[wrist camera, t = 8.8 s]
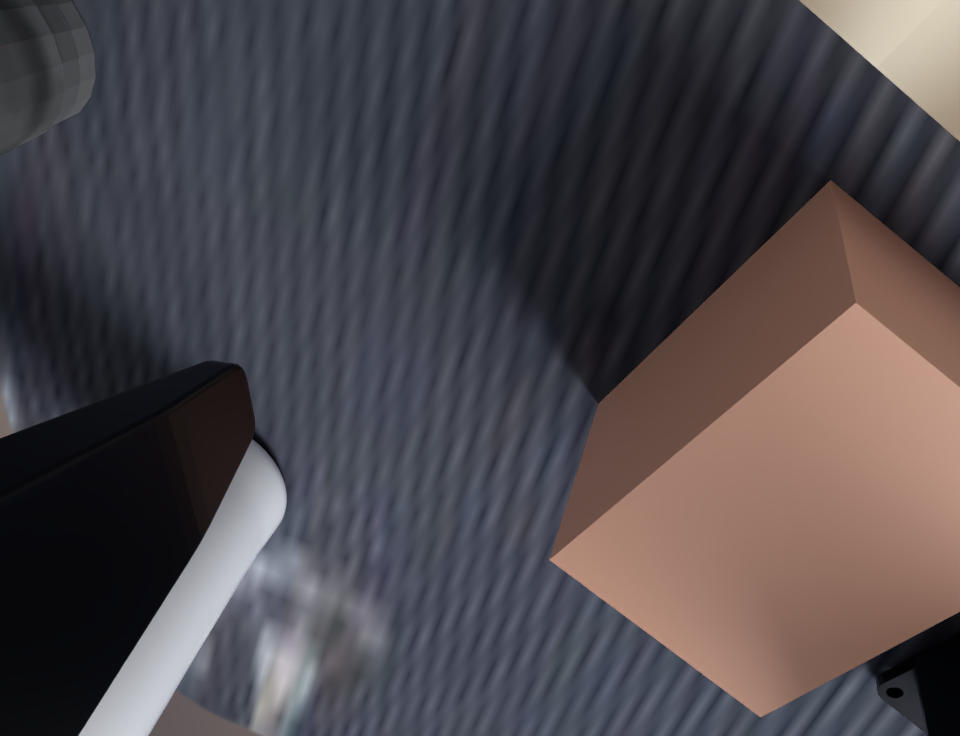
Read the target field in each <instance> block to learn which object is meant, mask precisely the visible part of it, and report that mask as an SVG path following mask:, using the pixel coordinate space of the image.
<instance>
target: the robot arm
mask: <svg viewBox="0 0 960 736" xmlns="http://www.w3.org/2000/svg"><path fill="white" fill-rule="evenodd" d="M254 430H255V418H254V413H253V407H252V402H251V397H250V392H249V387H248V382H247V377H246V374H245V372H244V370H243V368H242V367H240V366H239V365H238V364H233V363H226V362H220V361H212V360H211V361H205V362H202V363H199V364H197V365H194V366H191V367H189V368H186V369H183V370H181V371H178V372H175V373H173V374H170V375H167V376H165V377H162V378H159V379H157V380H154V381H151V382H149V383H146V384H144V385H141V386H138V387H136V388H133V389H130V390H128V391H125V392H122V393H120V394H117V395H114V396H112V397H109V398H106V399H104V400H101V401H98V402H96V403H93V404H90V405H88V406H85V407H82V408H80V409H77V410H74V411H72V412H69V413H66V414H64V415H61V416H59V417H56V418H53V419H51V420H48V421H45V422H43V423H40V424H37V425H35V426H32V427H29V428H27V429H24V430H21V431H19V432H16V433H13V434H11V435H8V436H5V437H3V438H0V736H79V734H80V733H81V731H82V730H83V728H84V726H85V725H86V723H87V722H88V720H89V719H90V717H91V715H92V714H93V712H94V711H95V709H96V708H97V706H98V704H99V703H100V701H101V700H102V698H103V697H104V695H105V693H106V692H107V690H108V689H109V687H110V685H111V684H112V682H113V681H114V679H115V678H116V676H117V674H118V673H119V671H120V670H121V668H122V667H123V665H124V663H125V662H126V660H127V659H128V657H129V656H130V654H131V652H132V651H133V649H134V648H135V646H136V645H137V643H138V641H139V640H140V638H141V637H142V635H143V634H144V632H145V630H146V629H147V627H148V626H149V624H150V623H151V621H152V619H153V618H154V616H155V615H156V613H157V612H158V610H159V608H160V607H161V605H162V604H163V602H164V600H165V599H166V597H167V596H168V594H169V593H170V591H171V589H172V588H173V586H174V585H175V583H176V582H177V580H178V578H179V577H180V575H181V574H182V572H183V571H184V569H185V567H186V566H187V564H188V563H189V561H190V560H191V558H192V556H193V555H194V553H195V551H196V550H197V548H198V546H199V545H200V543H201V541H202V539H203V538H204V536H205V534H206V532H207V530H208V528H209V526H210V525H211V523H212V521H213V518H214V516H215V514H216V512H217V510H218V508H219V506H220V504H221V502H222V500H223V498H224V496H225V494H226V492H227V490H228V488H229V486H230V484H231V482H232V480H233V478H234V476H235V474H236V472H237V470H238V468H239V466H240V464H241V462H242V460H243V458H244V455H245V453H246V451H247V449H248V447H249V445H250V443H251V441H252V439H253V435H254ZM876 683H877V691H878V695H879V696H880V697H881V698H882V699H883V700H884V701H885V702H887V703H888V704H889V705H890V706H892V707H893V708H894V709H896V710H897V711H898V712H899V713H901V714H902V715H903V716H905V717H906V718H907V719H908V720H910V721H911V722H912V723H914V724H915V725H916V726H917V727H919V728H920V729H921V730H922V731H924V732H925V733H926V736H960V635H958V636H956V637H954V638H952V639H950V640H948V641H946V642H944V643H942V644H940V645H938V646H936V647H934V648H932V649H930V650H928V651H926V652H924V653H922V654H920V655H918V656H916V657H914V658H912V659H910V660H908V661H906V662H904V663H902V664H900V665H898V666H896V667H894V668H892V669H890V670H888V671H886V672H884V673H882V674H881V675H879V676H878V678H877V680H876ZM891 687H898V688H891Z"/></svg>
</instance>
